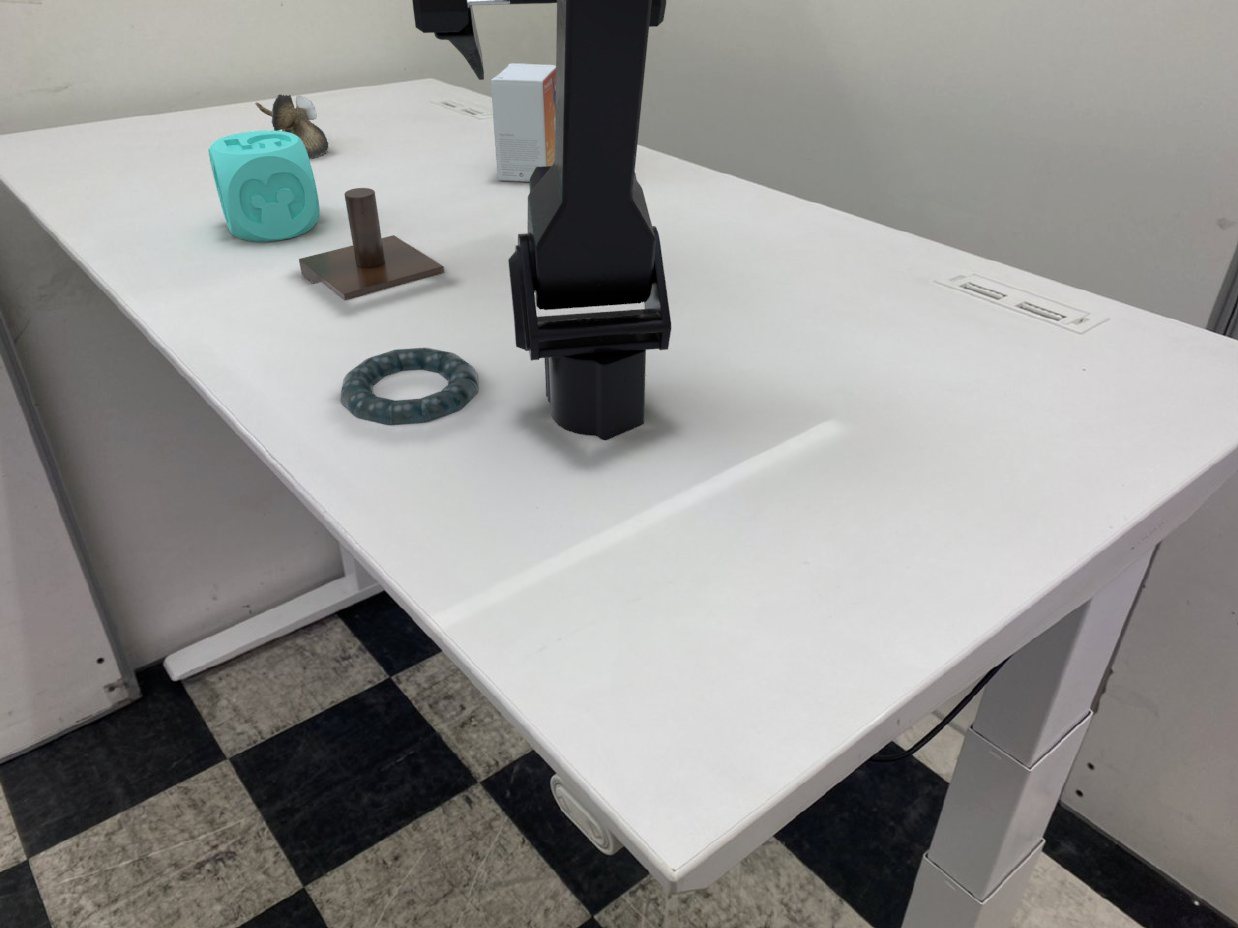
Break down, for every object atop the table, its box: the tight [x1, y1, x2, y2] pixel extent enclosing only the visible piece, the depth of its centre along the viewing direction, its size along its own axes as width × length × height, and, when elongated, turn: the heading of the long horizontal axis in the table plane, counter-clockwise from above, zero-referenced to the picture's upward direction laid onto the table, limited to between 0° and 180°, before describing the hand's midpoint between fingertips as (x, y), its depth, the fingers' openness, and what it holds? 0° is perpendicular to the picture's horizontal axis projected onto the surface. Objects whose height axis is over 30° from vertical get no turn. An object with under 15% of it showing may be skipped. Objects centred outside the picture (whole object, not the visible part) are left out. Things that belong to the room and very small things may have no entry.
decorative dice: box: [207, 130, 321, 243], centre depth 87 cm, size 8×8×8 cm
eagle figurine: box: [254, 93, 330, 160], centre depth 108 cm, size 8×7×9 cm
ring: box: [339, 347, 479, 426], centre depth 62 cm, size 9×9×2 cm
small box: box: [490, 62, 556, 182], centre depth 100 cm, size 8×6×10 cm
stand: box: [298, 187, 445, 301], centre depth 77 cm, size 9×9×8 cm
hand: (536, 74), depth 77 cm, fingers open, 9 cm apart
